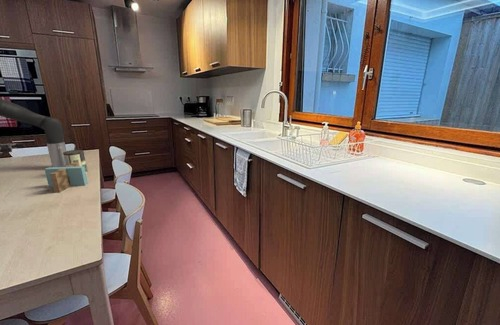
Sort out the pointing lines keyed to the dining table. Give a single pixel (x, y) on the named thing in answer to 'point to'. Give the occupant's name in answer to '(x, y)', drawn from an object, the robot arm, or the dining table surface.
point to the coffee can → (75, 158)
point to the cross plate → (69, 175)
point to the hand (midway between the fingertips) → (17, 147)
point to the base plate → (61, 178)
